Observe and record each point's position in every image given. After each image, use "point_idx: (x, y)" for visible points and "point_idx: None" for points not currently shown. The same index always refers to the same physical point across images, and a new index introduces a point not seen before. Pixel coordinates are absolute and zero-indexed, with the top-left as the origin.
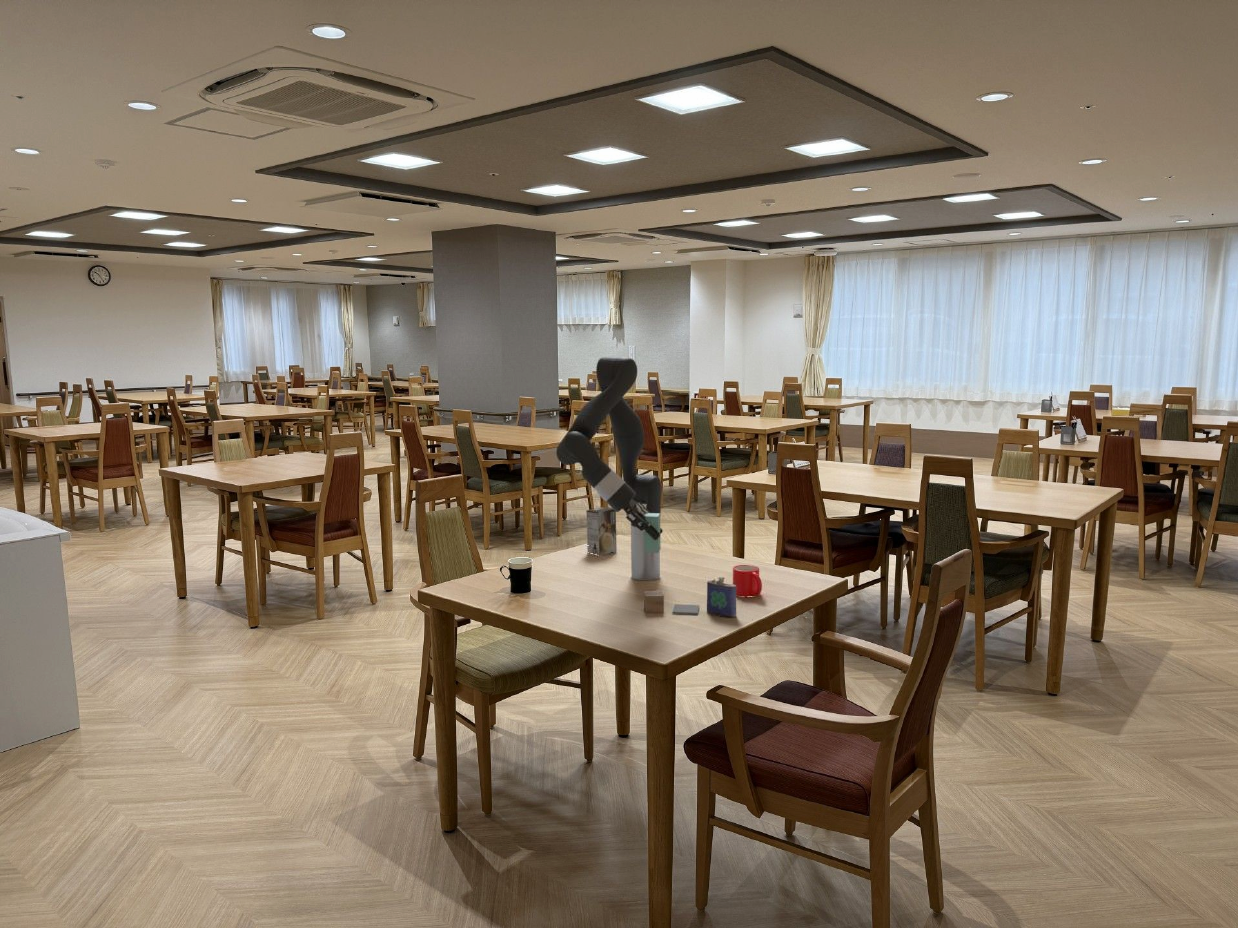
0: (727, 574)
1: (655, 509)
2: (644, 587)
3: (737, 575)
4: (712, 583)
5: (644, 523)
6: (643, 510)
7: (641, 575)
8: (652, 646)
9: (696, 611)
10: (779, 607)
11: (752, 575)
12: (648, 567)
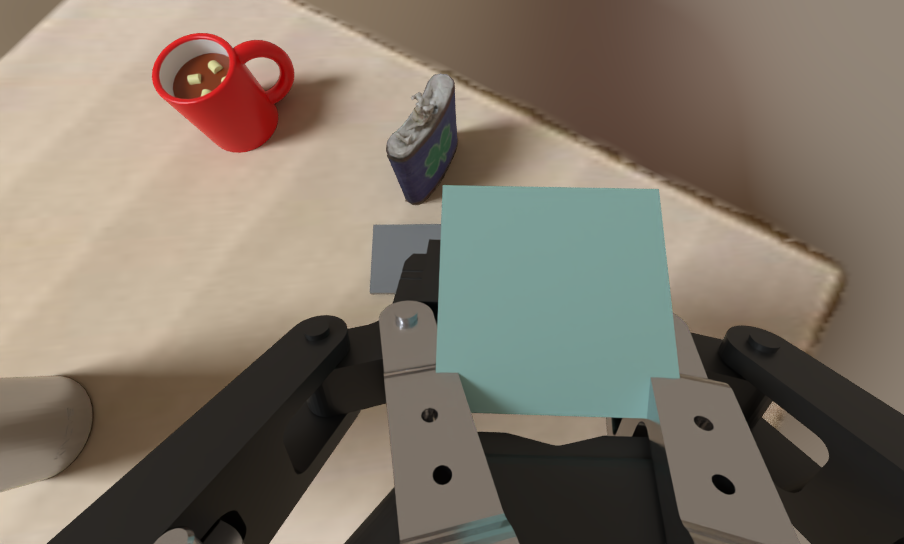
0: (52, 175)
1: None
2: (171, 414)
3: (232, 100)
4: (421, 141)
5: (812, 370)
6: (481, 461)
7: (71, 439)
8: (726, 316)
9: (431, 227)
10: (362, 46)
11: (250, 56)
12: (41, 417)
